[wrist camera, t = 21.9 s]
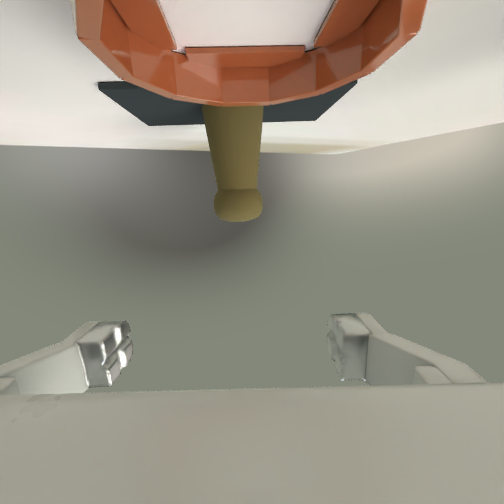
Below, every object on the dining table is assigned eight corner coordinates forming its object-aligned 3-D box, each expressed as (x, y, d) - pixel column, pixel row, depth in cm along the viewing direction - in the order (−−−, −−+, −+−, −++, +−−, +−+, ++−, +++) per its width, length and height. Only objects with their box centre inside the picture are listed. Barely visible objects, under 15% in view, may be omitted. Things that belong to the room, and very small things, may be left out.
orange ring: (146, 70, 17) (151, 109, 18) (-138, -304, 4) (-86, -115, 5) (338, 66, 18) (337, 103, 19) (617, -272, 5) (582, -108, 5)
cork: (252, 92, 21) (257, 224, 23) (270, 112, 26) (273, 217, 29) (189, 103, 23) (200, 224, 25) (218, 119, 28) (225, 217, 31)
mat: (147, 121, 30) (148, 125, 30) (97, 82, 19) (98, 89, 19) (315, 116, 30) (315, 120, 31) (357, 76, 20) (357, 83, 20)
